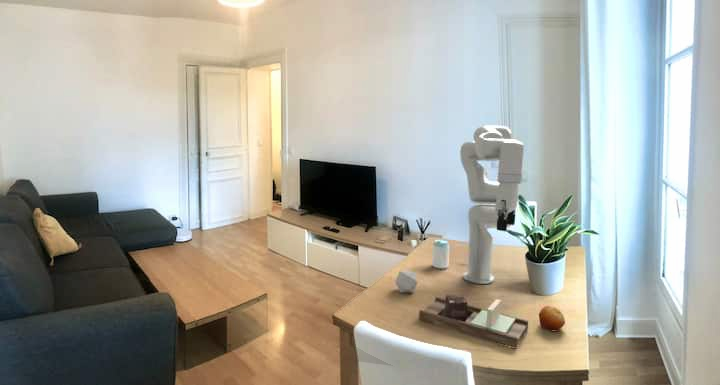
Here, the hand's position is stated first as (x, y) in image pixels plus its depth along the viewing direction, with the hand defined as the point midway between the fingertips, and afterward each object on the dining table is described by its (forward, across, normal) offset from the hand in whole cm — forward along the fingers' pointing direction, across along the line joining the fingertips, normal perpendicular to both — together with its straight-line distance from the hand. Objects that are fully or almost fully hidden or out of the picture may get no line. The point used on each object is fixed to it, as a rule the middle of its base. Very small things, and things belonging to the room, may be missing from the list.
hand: (505, 227), depth 153 cm
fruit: (+31, +4, +18) cm, 36 cm away
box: (+30, +17, -10) cm, 36 cm away
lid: (+28, +17, +3) cm, 32 cm away
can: (+31, -28, -35) cm, 54 cm away
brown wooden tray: (+30, +17, -4) cm, 35 cm away
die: (+31, +5, -35) cm, 47 cm away
